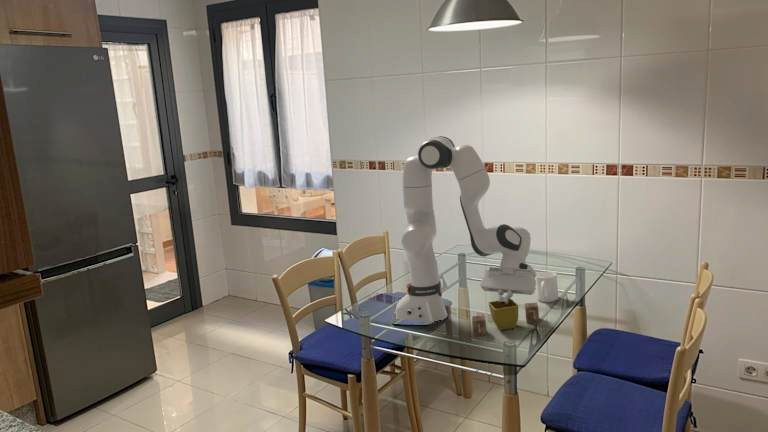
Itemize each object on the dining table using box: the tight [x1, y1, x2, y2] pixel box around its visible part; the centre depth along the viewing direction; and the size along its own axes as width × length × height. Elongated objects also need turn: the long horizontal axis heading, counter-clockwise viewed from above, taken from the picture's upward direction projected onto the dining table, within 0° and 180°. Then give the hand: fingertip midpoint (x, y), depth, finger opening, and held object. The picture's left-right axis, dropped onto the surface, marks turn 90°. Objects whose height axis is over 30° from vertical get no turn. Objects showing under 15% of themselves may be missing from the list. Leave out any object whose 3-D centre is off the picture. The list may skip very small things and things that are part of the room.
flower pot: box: [488, 298, 519, 331], centre depth 210 cm, size 9×9×9 cm
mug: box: [535, 271, 559, 303], centre depth 231 cm, size 12×8×10 cm
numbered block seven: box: [524, 302, 540, 324], centre depth 213 cm, size 4×5×6 cm
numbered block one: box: [471, 315, 488, 338], centre depth 207 cm, size 4×5×6 cm
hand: (502, 302), depth 209 cm, fingers closed, pressing on flower pot
